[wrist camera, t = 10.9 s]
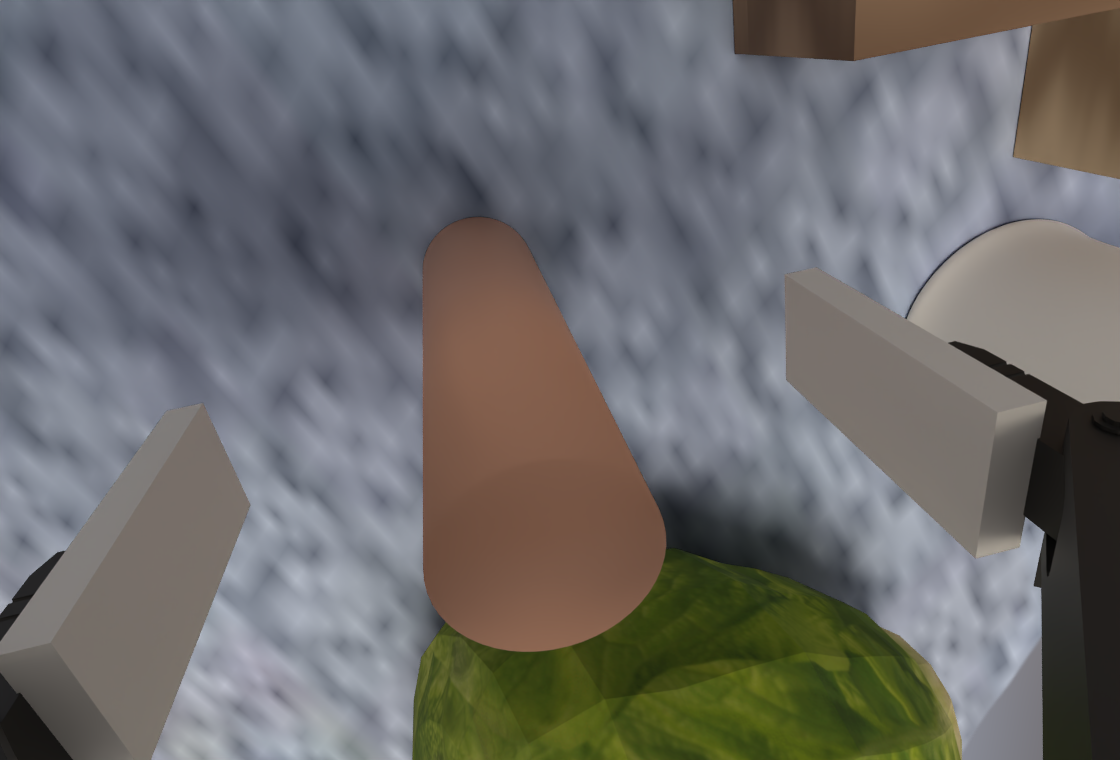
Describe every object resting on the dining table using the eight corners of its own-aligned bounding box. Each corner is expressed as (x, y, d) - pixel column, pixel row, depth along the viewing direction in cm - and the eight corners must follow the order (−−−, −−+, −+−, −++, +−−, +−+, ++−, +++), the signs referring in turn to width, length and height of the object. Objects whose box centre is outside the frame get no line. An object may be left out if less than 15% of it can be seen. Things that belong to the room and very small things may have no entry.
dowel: (409, 229, 21) (393, 494, 9) (522, 206, 22) (654, 432, 9) (438, 333, 23) (456, 675, 11) (542, 310, 23) (675, 617, 11)
